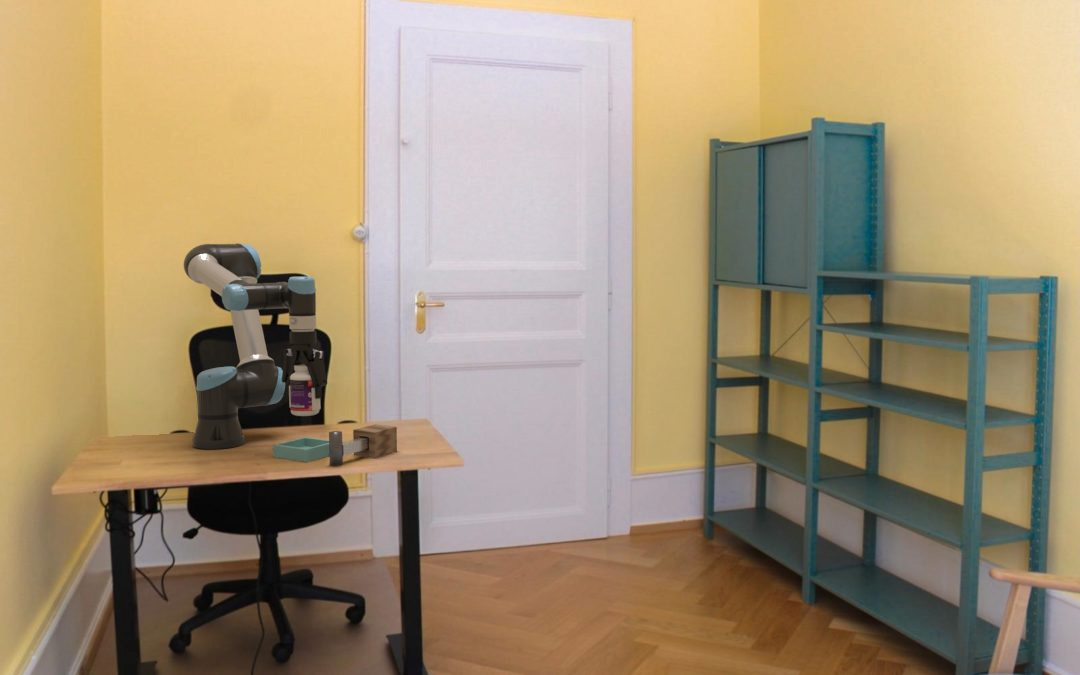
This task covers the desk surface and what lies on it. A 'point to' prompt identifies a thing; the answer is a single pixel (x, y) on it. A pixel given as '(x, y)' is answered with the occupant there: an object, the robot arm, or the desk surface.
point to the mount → (377, 440)
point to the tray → (302, 449)
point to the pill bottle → (301, 392)
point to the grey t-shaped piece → (344, 447)
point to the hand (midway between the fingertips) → (305, 408)
